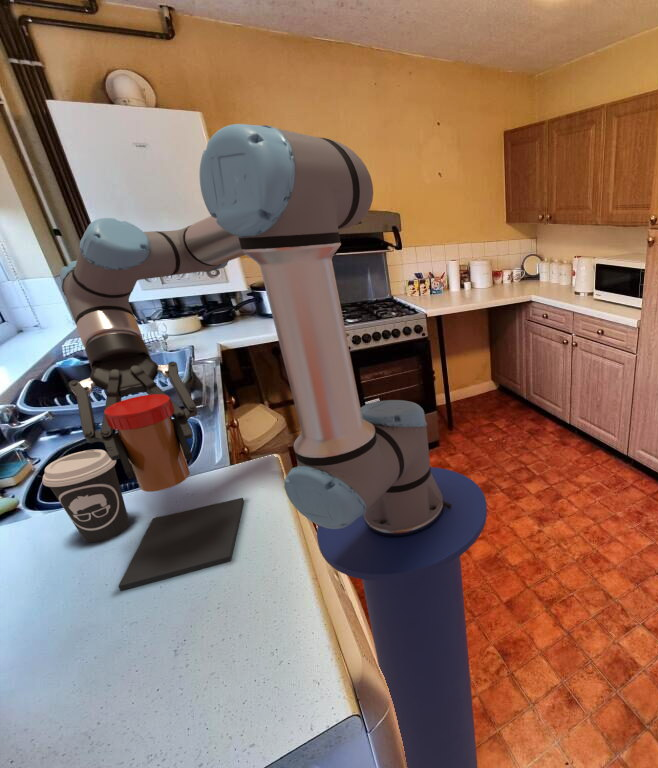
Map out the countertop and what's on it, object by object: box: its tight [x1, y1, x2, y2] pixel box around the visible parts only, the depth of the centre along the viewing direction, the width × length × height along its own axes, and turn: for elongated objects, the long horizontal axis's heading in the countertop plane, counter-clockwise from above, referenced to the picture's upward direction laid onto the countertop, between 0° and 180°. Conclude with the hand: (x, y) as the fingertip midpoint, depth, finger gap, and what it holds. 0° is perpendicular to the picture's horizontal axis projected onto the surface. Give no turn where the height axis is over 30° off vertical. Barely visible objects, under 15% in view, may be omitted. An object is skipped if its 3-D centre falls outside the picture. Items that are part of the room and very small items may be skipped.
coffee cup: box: [42, 449, 131, 543], centre depth 79 cm, size 10×10×15 cm
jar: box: [116, 416, 191, 493], centre depth 69 cm, size 7×7×13 cm
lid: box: [103, 394, 174, 431], centre depth 67 cm, size 8×8×2 cm
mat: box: [118, 497, 245, 592], centre depth 78 cm, size 15×18×1 cm
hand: (160, 465), depth 67 cm, fingers closed on jar, 7 cm apart
